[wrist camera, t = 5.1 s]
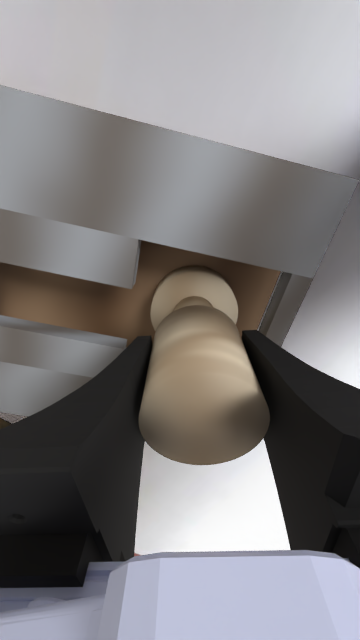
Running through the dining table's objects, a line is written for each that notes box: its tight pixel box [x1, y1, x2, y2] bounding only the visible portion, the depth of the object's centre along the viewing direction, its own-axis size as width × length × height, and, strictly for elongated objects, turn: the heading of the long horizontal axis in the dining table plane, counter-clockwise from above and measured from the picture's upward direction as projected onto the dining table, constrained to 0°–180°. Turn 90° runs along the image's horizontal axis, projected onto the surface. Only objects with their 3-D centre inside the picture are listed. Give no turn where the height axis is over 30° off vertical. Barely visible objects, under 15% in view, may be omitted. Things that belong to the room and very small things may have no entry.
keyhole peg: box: [139, 265, 270, 465], centre depth 12 cm, size 5×5×9 cm
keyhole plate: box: [0, 85, 360, 417], centre depth 14 cm, size 18×16×4 cm
